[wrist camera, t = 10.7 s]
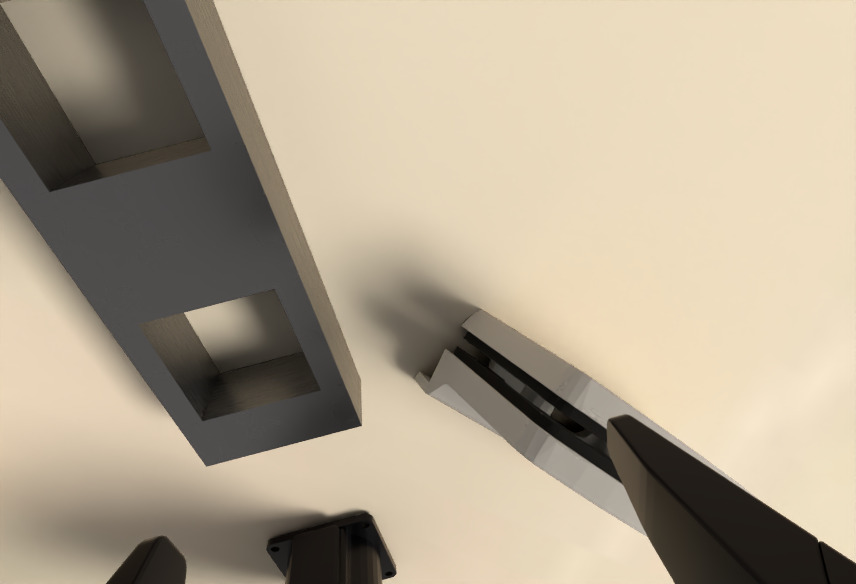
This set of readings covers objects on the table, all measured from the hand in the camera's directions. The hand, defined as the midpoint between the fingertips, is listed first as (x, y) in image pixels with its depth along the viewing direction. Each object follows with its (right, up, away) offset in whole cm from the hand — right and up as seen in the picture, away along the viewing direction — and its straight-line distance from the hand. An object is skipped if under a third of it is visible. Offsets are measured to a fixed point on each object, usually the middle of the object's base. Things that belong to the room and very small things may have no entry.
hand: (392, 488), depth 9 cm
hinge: (+8, -2, +17) cm, 19 cm away
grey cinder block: (-8, +7, +9) cm, 14 cm away
